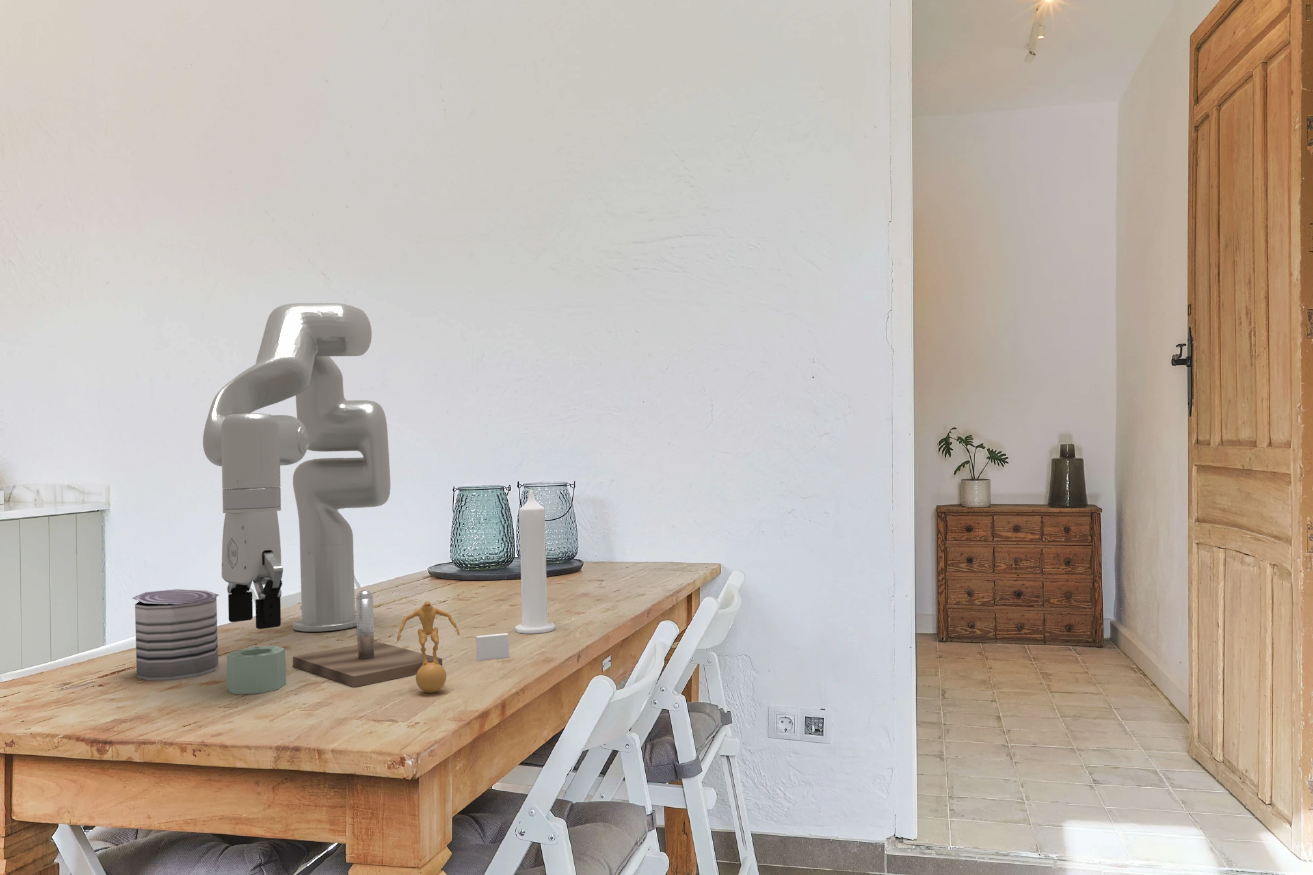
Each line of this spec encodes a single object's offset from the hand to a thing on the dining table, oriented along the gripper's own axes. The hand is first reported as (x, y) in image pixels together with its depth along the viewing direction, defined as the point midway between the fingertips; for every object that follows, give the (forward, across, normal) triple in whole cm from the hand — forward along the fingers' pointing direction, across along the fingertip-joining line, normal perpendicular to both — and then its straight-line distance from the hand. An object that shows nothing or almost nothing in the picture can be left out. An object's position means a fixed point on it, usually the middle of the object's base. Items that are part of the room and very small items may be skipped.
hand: (254, 624), depth 133 cm
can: (+9, -21, -4) cm, 23 cm away
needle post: (+7, 0, +16) cm, 18 cm away
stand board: (+9, 0, +16) cm, 19 cm away
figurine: (+9, +20, +16) cm, 27 cm away
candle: (+8, -3, +50) cm, 51 cm away
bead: (+9, -1, 0) cm, 9 cm away
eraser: (+9, +10, +32) cm, 35 cm away
